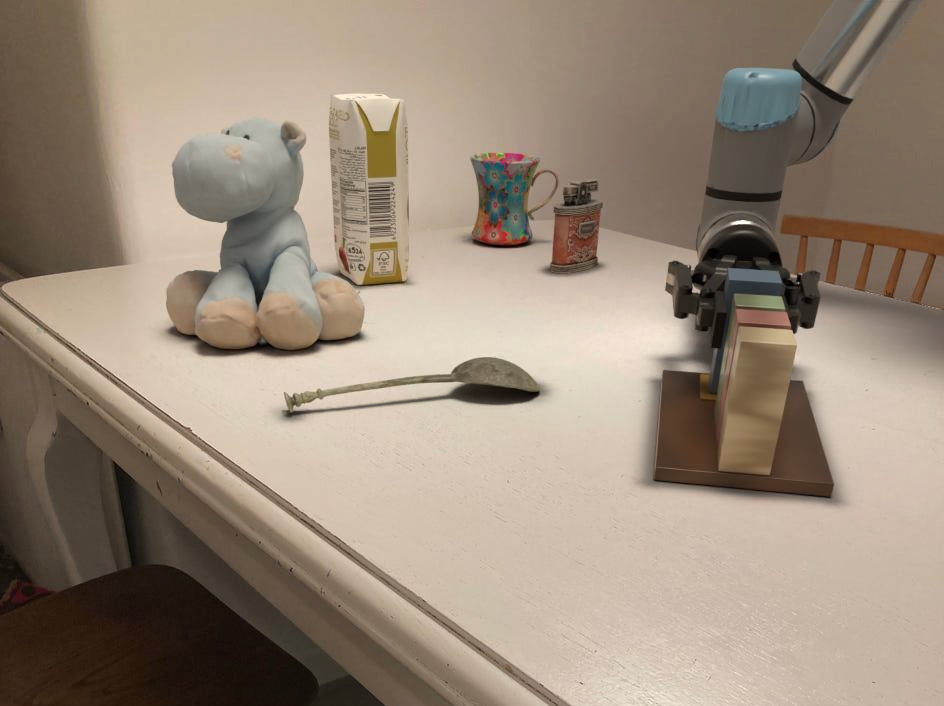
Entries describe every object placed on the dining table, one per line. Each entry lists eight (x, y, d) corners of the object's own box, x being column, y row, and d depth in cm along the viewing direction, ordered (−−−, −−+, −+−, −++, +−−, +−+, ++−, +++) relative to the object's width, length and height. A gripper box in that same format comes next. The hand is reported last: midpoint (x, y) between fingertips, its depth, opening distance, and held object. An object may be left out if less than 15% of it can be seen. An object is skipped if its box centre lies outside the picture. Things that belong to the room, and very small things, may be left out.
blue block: (757, 381, 82) (778, 271, 77) (759, 397, 78) (782, 282, 73) (709, 377, 82) (727, 267, 77) (710, 392, 79) (729, 279, 74)
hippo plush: (135, 336, 93) (98, 123, 83) (293, 289, 109) (278, 106, 99) (275, 372, 85) (254, 140, 75) (424, 316, 101) (423, 118, 91)
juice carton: (354, 288, 111) (346, 99, 100) (331, 271, 117) (321, 93, 107) (415, 283, 113) (413, 98, 103) (389, 267, 120) (385, 92, 109)
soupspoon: (552, 407, 81) (522, 386, 86) (555, 367, 79) (524, 348, 85) (292, 424, 74) (277, 400, 80) (290, 381, 73) (275, 359, 78)
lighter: (565, 274, 118) (571, 186, 113) (543, 270, 120) (548, 182, 115) (603, 264, 123) (611, 179, 118) (582, 260, 125) (589, 175, 120)
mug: (467, 247, 130) (468, 160, 124) (469, 234, 138) (471, 151, 132) (555, 250, 130) (561, 163, 124) (553, 236, 137) (558, 154, 132)
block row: (800, 391, 84) (827, 271, 78) (831, 497, 66) (868, 351, 60) (661, 380, 85) (677, 262, 80) (653, 480, 67) (673, 336, 62)
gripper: (821, 311, 93) (855, 391, 73) (643, 298, 95) (631, 372, 76) (840, 228, 88) (881, 289, 69) (653, 216, 91) (643, 273, 72)
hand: (750, 332), depth 73 cm, fingers closed on blue block, 4 cm apart
